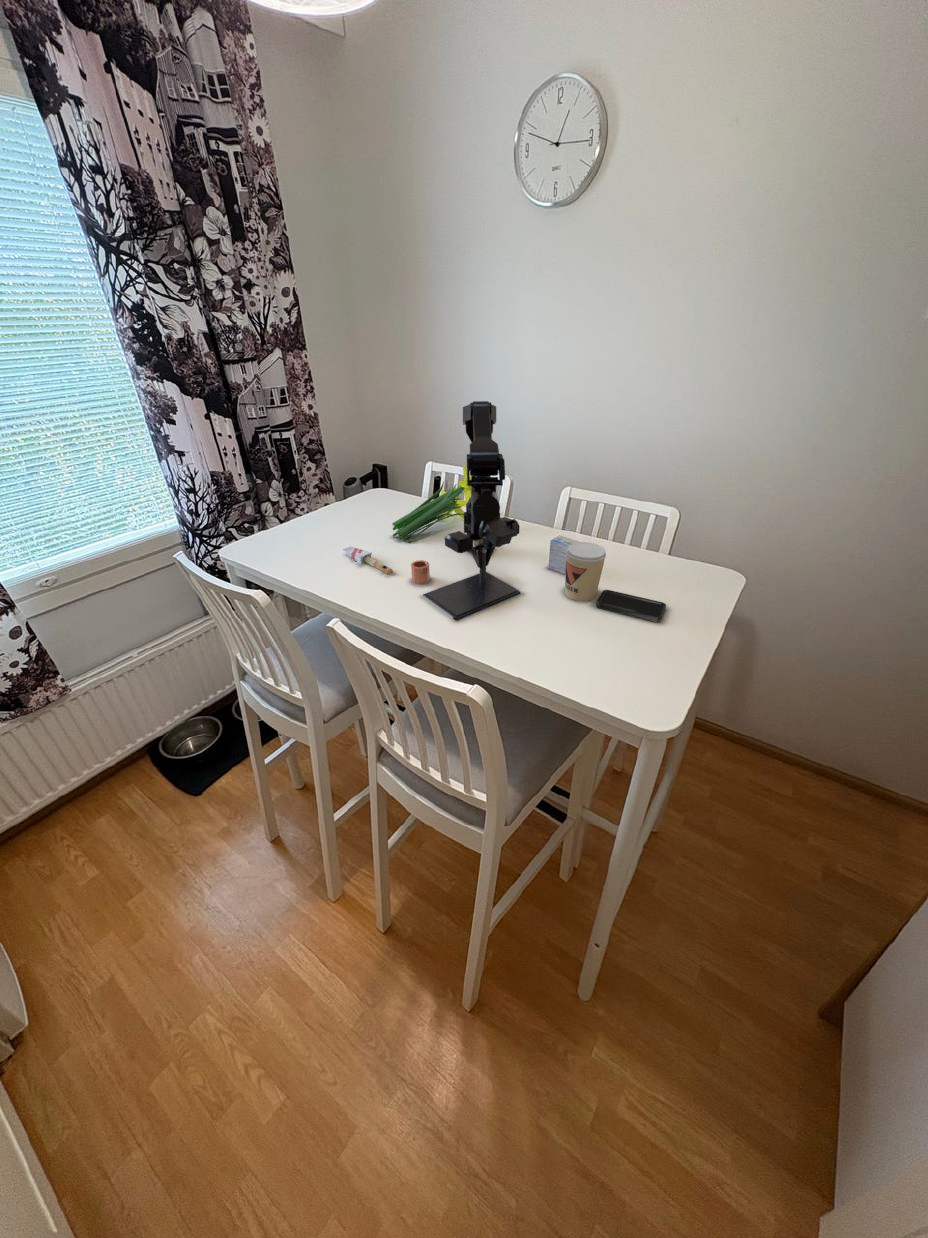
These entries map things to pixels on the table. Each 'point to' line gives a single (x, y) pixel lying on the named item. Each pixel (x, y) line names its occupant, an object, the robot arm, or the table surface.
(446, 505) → the daffodil flowers
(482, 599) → the tablet
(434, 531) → the table surface
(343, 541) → the table surface
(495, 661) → the table surface
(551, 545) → the medicine box
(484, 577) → the stylus
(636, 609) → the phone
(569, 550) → the coffee cup
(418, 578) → the pen cup
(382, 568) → the paintbrush
